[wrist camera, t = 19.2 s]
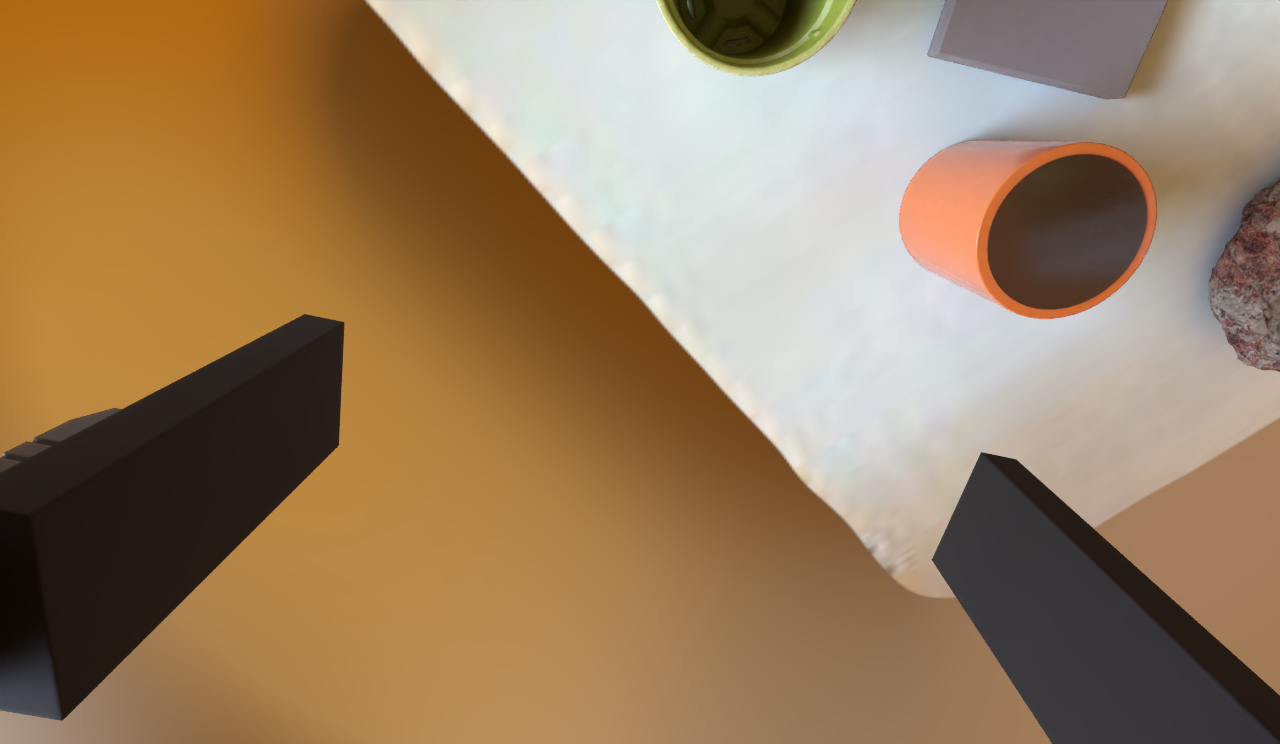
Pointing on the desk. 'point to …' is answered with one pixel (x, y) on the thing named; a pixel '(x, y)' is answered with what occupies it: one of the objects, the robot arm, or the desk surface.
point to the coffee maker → (1051, 40)
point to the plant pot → (755, 31)
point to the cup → (1031, 222)
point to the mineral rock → (1252, 284)
